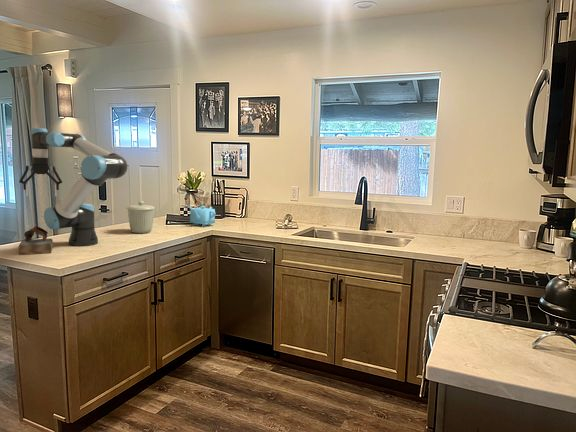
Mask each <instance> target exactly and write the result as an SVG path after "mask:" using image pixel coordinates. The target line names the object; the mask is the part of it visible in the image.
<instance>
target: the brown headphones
mask: <svg viewBox="0 0 576 432" xmlns="http://www.w3.org/2000/svg"><path fill="white" fill-rule="evenodd" d="M48 233H49V232H48V231H47V230H46V229H44V228H41V227H39V226H37V225H36V226H33V228H29V229H28V230H26V231H25V232H24V233H23V234H24V235H23V236H24V237H25V239H24V240H25V241H27V240H31V239H33V236H35V234H37V235H40V236H42V238H41V239H42V240H43V241H45V239H48Z"/></svg>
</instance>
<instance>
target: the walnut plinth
mask: <svg viewBox="0 0 576 432" xmlns="http://www.w3.org/2000/svg"><path fill="white" fill-rule="evenodd" d="M42 239H43V238H32V239H31V240H27V241H25V239H22V240H21V241H20V243H19V244H18V255H19V256H24V255H42V254H52V251H53V248H54V244H53V243H54V242H53V241H54V240H53V238H46V239H45V241H43V240H42Z"/></svg>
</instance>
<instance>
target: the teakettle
mask: <svg viewBox="0 0 576 432" xmlns="http://www.w3.org/2000/svg"><path fill="white" fill-rule="evenodd" d="M188 208H189V209H190V214H189V215H190V216H189V217H190V218H189V223H190V224H193V226H194V225H198V226H199V225H201V224H202V225H201V227H202V226H208V225H210V226H212V224H215V220H216V218H215V217H216V214H217V213H216V209H215V208H213V206H210V207H209V208H208V207H206V206H205V205H201V206H200V207H194V208H193V207H192V206H188Z"/></svg>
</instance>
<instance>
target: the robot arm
mask: <svg viewBox="0 0 576 432" xmlns="http://www.w3.org/2000/svg"><path fill="white" fill-rule="evenodd" d="M30 138H31V155H32V165H31V166H29V165H25V170H24V172H23V173H22V175H21V177H20V179H19V181H18V182H19V183H20V184H23V185H22V186H23V190H24V191H25V192H26V193H25V196H26V197H29V184H28V182H29V181H30V180H31V179H32V177H34V175H36V174H37V175H47V177H49V178H50V179H51V180H52V181H53V183H54V197H58V196H57V194H58V193H57V192H58V191H59V190H60V184H62V183H63V181H62V178H61V177H60V175H59V174H58V172H57V171H56V170H57V169H56V166H54V165H53V166H50V165H49V164H50V163H49V161H50V160H49V147H52V148H70V149H73V150H75V151H77V152H79V153H81V154H83V155H84V156H86V157H85V158H83V159H82V161H81V163H80V165H81V166H80V172H81V173H80V175H81V176H80V177H79V178H78V179H77V181H76V182H75V184H74V185H73V187H72V188H71V189H70V190H69V192H67V194H66V195H65V197H63V199H62V200H59V201H57V202H56V203H55V204H54V206H52V207H47V208H45V209H44V212H43V219H44V222H45V224H46V226H47V227H48V228H49V229H50V230H59V229H61V230H62V229H66V228H71V232H70V234H69V237H68V245H70V246H73V247H74V246H75V247H76V246H77V247H84V246H94V245H97V244H99V238H98V235H97V234H96V230H95V206H94V205H93V203H92V204H91V203H85V201H86V200H87V199H88V198H89V196H90V195H91V194H92V193H93V192H94V190H95V189H97V187H100V186H102V185H103V184H105V182H106V181H107V180H109V179H110V180H111V179H118V178H119V179H120V178H121V177H123V176H125V175H126V173H127V172H128V163H127V160H126V159H125V158H124V157H123V156H121V155H119V154H118V153H115V152H110V151H108V150H106V149H104V148H102V147H100V146H98V145H97V144H94V143H93V142H90V141H89V140H87V139H86V137H85V136H84V135H83V134H79V133H67V132H66V133H64V132H57V131H56V132H55V131H49V132H48V129H47V128H42V127H32V128H31V137H30ZM31 169H32V170H33V171H32V173H31V174H30V175H29V176H28V177H27V178H25V177H26V176H27V174H28V172H29V170H31ZM50 170H51V171H53V173H54V175H55V177H56V178H55V177H54V176H53V175H52V174H51V173H50V172H49V171H50ZM24 179H25V180H24Z"/></svg>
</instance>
